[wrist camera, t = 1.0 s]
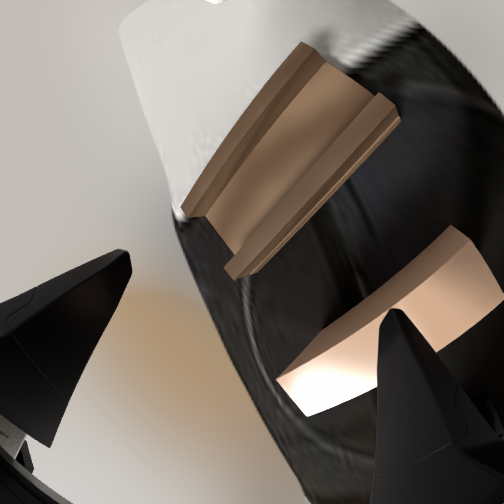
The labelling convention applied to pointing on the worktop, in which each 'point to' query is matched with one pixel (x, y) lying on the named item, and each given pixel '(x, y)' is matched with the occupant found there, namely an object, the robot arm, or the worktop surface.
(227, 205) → the track
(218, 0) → the lightbulb
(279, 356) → the worktop surface
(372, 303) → the tan rectangular block
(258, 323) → the worktop surface
